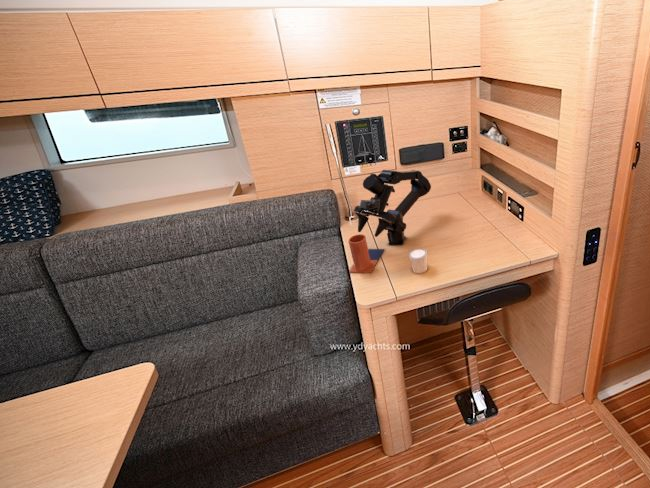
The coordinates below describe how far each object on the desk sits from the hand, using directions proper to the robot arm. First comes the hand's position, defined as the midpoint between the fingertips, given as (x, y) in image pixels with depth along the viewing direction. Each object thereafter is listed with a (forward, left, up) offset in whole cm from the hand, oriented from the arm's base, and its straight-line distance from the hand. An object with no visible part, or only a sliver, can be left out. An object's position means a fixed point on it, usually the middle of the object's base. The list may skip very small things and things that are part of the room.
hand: (367, 234), depth 133 cm
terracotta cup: (+2, +5, -12) cm, 13 cm away
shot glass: (-21, +5, -13) cm, 25 cm away
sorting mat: (+2, 0, -12) cm, 13 cm away
